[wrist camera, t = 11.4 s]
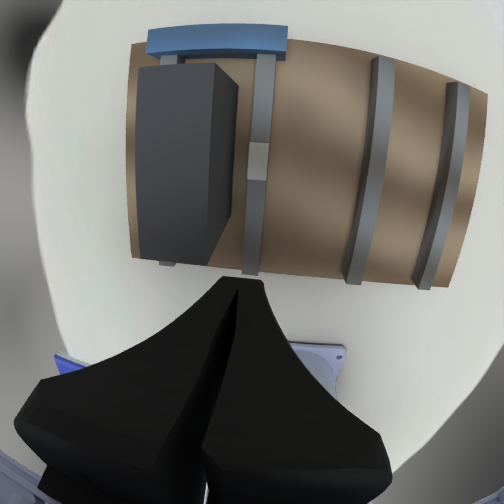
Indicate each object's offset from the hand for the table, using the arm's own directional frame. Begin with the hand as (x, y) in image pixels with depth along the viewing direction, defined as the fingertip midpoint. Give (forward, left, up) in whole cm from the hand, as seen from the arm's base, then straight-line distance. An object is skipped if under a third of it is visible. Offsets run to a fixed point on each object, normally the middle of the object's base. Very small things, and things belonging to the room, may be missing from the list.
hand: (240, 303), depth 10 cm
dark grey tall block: (+4, +3, -10) cm, 11 cm away
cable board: (+4, -3, -10) cm, 11 cm away
